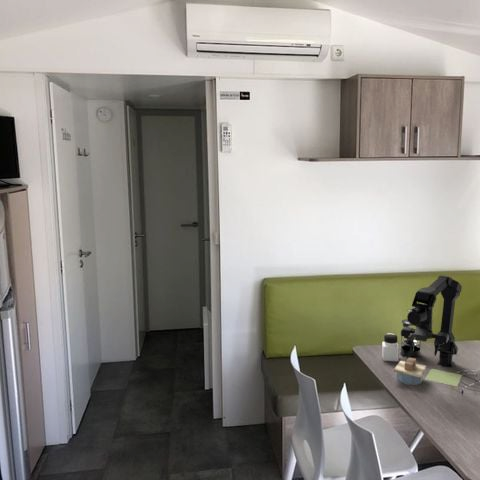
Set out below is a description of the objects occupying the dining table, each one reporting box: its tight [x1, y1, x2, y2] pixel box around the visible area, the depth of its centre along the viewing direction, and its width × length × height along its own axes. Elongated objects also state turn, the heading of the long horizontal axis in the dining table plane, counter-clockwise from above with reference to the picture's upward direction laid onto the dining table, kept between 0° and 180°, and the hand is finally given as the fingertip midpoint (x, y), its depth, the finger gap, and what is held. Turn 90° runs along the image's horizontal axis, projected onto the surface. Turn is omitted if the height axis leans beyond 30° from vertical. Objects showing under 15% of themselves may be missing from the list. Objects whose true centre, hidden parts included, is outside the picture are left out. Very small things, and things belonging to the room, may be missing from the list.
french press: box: [399, 308, 422, 359], centre depth 233 cm, size 12×9×23 cm
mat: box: [424, 368, 463, 387], centre depth 208 cm, size 13×13×1 cm
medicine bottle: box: [381, 333, 400, 363], centre depth 229 cm, size 7×7×12 cm
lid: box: [393, 357, 427, 377], centre depth 205 cm, size 11×11×4 cm
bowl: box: [396, 372, 424, 386], centre depth 205 cm, size 10×10×5 cm
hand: (424, 353), depth 205 cm, fingers open, 9 cm apart
